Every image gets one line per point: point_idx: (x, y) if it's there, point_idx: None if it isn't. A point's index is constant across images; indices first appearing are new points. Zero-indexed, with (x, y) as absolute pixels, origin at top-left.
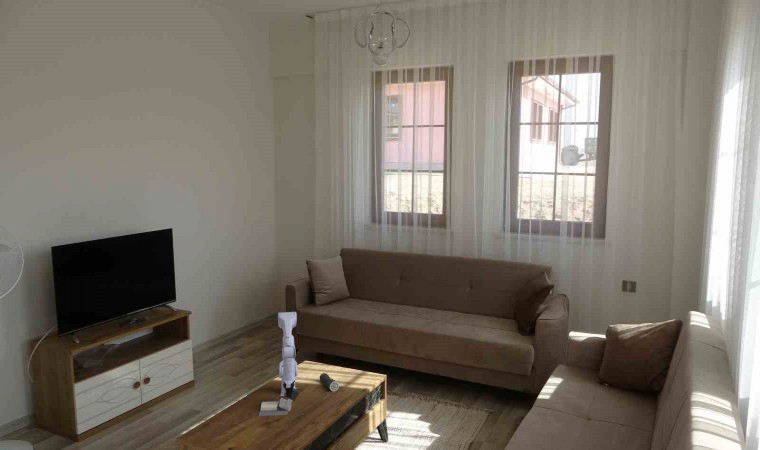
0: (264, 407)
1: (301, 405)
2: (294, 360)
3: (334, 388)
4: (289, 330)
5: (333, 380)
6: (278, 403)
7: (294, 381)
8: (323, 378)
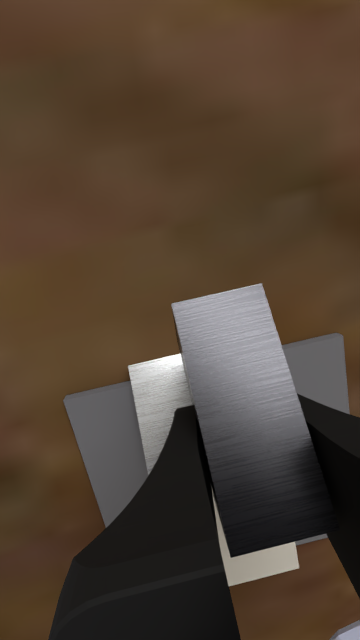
0: (295, 546)
1: (126, 263)
2: None
3: None
4: None
5: None
6: (142, 468)
7: (218, 551)
8: None
